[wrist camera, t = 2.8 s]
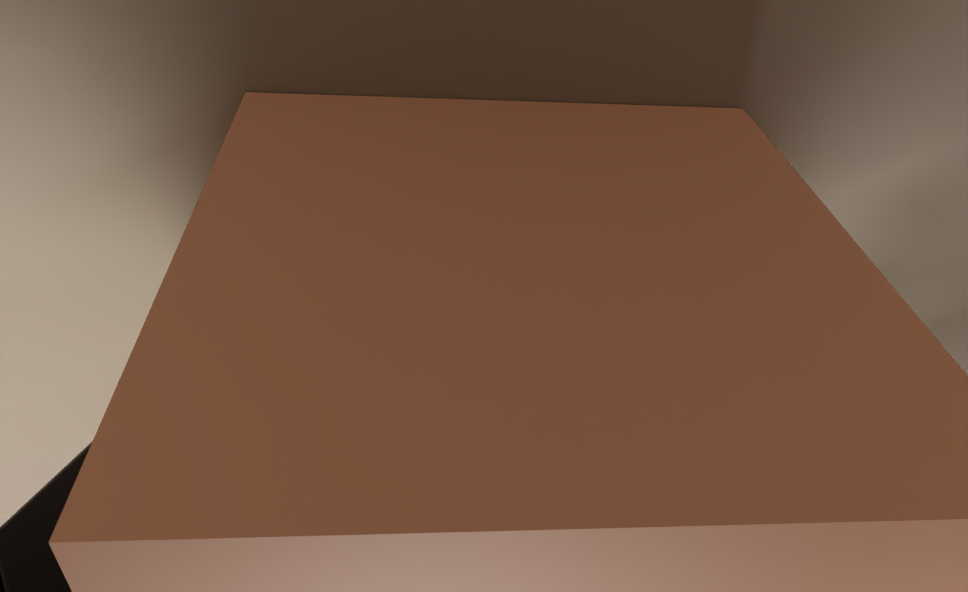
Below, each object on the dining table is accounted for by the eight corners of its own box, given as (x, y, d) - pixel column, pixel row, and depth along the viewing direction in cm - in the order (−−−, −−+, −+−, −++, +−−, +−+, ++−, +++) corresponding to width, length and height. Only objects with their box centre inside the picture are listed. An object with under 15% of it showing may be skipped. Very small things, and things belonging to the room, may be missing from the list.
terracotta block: (743, 108, 9) (1085, 516, 4) (647, 436, 12) (782, 853, 8) (244, 92, 8) (48, 543, 4) (291, 442, 11) (216, 893, 7)
